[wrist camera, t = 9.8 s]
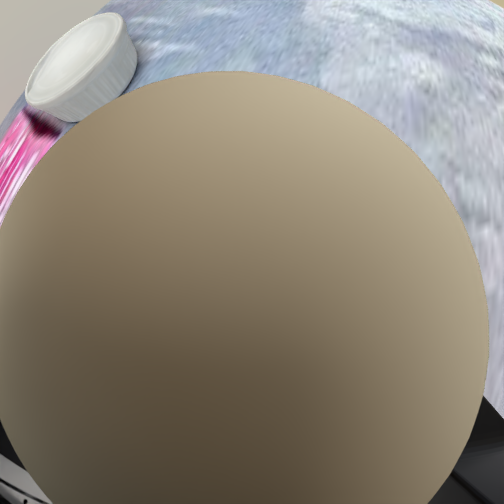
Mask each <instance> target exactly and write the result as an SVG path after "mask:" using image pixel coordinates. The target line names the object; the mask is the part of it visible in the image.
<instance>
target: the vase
mask: <svg viewBox="0 0 504 504" xmlns="http://www.w3.org/2000/svg"><path fill="white" fill-rule="evenodd" d="M488 358H489V322H488V307H487V301H486V295H485V290H484V285H483V280H482V275H481V271H480V266H479V263H478V260H477V257H476V254H475V252H474V249H473V246H472V244H471V241H470V238H469V236H468V233H467V231H466V228H465V226H464V224H463V222H462V220H461V218H460V216H459V214H458V213H457V211H456V209H455V207H454V205H453V204H452V202H451V200H450V199H449V197H448V195H447V194H446V192H445V190H444V189H443V187H442V185H441V184H440V183H439V181H438V180H437V179H436V178H435V176H434V175H433V174H432V173H431V171H430V170H429V169H428V168H427V167H426V165H425V164H424V163H423V162H422V161H421V159H420V158H419V157H418V156H417V155H416V154H415V152H414V151H413V150H412V149H411V148H410V147H408V146H407V145H406V144H405V143H404V142H403V141H402V140H401V139H400V138H398V137H397V136H396V135H395V134H394V133H393V132H392V131H390V130H389V129H388V128H387V127H386V126H385V125H383V124H382V123H381V122H379V121H378V120H376V119H375V118H373V117H372V116H370V115H369V114H367V113H366V112H364V111H363V110H361V109H359V108H358V107H356V106H355V105H353V104H351V103H350V102H348V101H346V100H344V99H342V98H340V97H337V96H335V95H333V94H331V93H328V92H326V91H324V90H322V89H319V88H317V87H315V86H312V85H309V84H305V83H302V82H298V81H295V80H291V79H287V78H284V77H280V76H275V75H268V74H261V73H253V72H244V71H214V72H202V73H195V74H188V75H182V76H176V77H173V78H169V79H165V80H162V81H158V82H155V83H151V84H148V85H145V86H143V87H140V88H138V89H136V90H133V91H131V92H129V93H126V94H124V95H122V96H120V97H118V98H116V99H114V100H112V101H111V102H109V103H107V104H105V105H104V106H102V107H100V108H99V109H97V110H95V111H94V112H92V113H91V114H90V115H88V116H87V117H86V118H84V119H83V120H82V121H80V122H79V123H78V124H76V125H75V126H74V127H72V128H71V129H70V130H69V131H68V132H67V133H66V134H65V135H64V136H63V137H61V138H60V139H59V140H58V141H57V142H56V143H55V144H54V145H53V146H52V147H51V148H50V149H49V150H48V152H47V153H46V154H45V155H44V156H43V158H42V159H41V160H40V161H39V162H38V164H37V165H36V166H35V167H34V168H33V170H32V171H31V173H30V174H29V176H28V177H27V179H26V180H25V182H24V183H23V185H22V186H21V188H20V189H19V191H18V192H17V194H16V196H15V198H14V200H13V202H12V204H11V206H10V208H9V210H8V212H7V214H6V216H5V218H4V220H3V223H2V225H1V228H0V420H1V423H2V425H3V427H4V430H5V432H6V434H7V436H8V438H9V440H10V442H11V444H12V446H13V448H14V450H15V452H16V454H17V455H18V457H19V459H20V460H21V462H22V464H23V465H24V467H25V468H26V470H27V472H28V473H29V475H30V476H31V477H32V479H33V480H34V481H35V483H36V484H37V485H38V487H39V488H40V489H41V490H42V492H43V493H44V494H45V495H46V497H47V498H48V499H49V500H50V501H51V502H52V503H53V504H428V502H429V501H430V500H431V499H432V498H433V496H434V495H435V494H436V492H437V491H438V490H439V488H440V487H441V486H442V484H443V483H444V482H445V480H446V479H447V478H448V476H449V475H450V473H451V471H452V470H453V468H454V466H455V464H456V462H457V461H458V459H459V457H460V455H461V453H462V451H463V449H464V447H465V445H466V443H467V441H468V439H469V437H470V434H471V431H472V429H473V426H474V423H475V420H476V417H477V414H478V411H479V407H480V404H481V401H482V397H483V392H484V386H485V380H486V373H487V366H488Z"/></svg>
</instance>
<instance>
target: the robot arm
mask: <svg viewBox="0 0 504 504" xmlns="http://www.w3.org/2000/svg"><path fill="white" fill-rule="evenodd" d="M0 504H53V503H52V502H51V501H50V500H49V499H48V498H47V497H46V495H45V494H44V493H43V492H42V490H41V489H40V488H39V487H38V485H37V484H36V483H35V481H34V480H33V479H32V477H31V476H30V475H29V473H28V472H27V470H26V468H25V467H24V465H23V464H22V462H21V460H20V459H19V457H18V455H17V454H16V452H15V450H14V448H13V446H12V444H11V442H10V440H9V438H8V436H7V434H6V432H5V430H4V427H3V425H2V423H1V420H0ZM428 504H504V419H503V418H502V417H501V415H500V414H499V413H498V412H497V411H496V410H495V408H494V407H493V406H492V405H491V404H490V403H489V402H488V400H487V399H486V398H485V397H484V396H483V397H482V401H481V404H480V407H479V411H478V414H477V417H476V420H475V423H474V426H473V429H472V431H471V434H470V437H469V439H468V441H467V443H466V445H465V447H464V449H463V451H462V453H461V455H460V457H459V459H458V461H457V462H456V464H455V466H454V468H453V470H452V471H451V473H450V475H449V476H448V478H447V479H446V480H445V482H444V483H443V484H442V486H441V487H440V488H439V490H438V491H437V492H436V494H435V495H434V496H433V498H432V499H431V500H430V501H429V502H428Z"/></svg>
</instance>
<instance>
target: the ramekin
mask: <svg viewBox="0 0 504 504" xmlns="http://www.w3.org/2000/svg"><path fill="white" fill-rule="evenodd" d="M136 66H137V52H136V50H135V47H134V45H133V43H132V40H131V38H130V36H129V34H128V32H127V25H126V22H125V21H124V19H123V18H122V17H121V16H120V15H119V14H117V13H103V14H99V15H96V16H93V17H91V18H89V19H87V20H85V21H83V22H81V23H80V24H78V25H77V26H75V27H73V28H72V29H71V30H69V31H68V32H67V33H66V34H64V35H63V36H62V37H61V38H60V39H59V40H57V41H56V42H55V43H54V44H53V45H52V46H51V47H50V49H49V50H48V51H47V52H46V53H45V54H44V56H43V57H42V58H41V59H40V61H39V62H38V64H37V65H36V67H35V68H34V70H33V72H32V74H31V75H30V78H29V80H28V82H27V86H26V90H25V98H26V101H27V102H28V104H29V105H30V106H32V107H33V108H35V109H38V110H43V111H45V112H46V113H48V114H50V115H52V116H54V117H56V118H58V119H61V120H63V121H66V122H77V121H82V120H83V119H84V118H86V117H87V116H88V115H90V114H91V113H92V112H94V111H95V110H97V109H99V108H100V107H102V106H104V105H105V104H107V103H109V102H111V101H112V100H114V99H116V98H118V97H119V96H120V95H121V94H122V92H123V91H124V90H125V89H126V87H127V86H128V84H129V83H130V81H131V79H132V77H133V75H134V73H135V69H136Z"/></svg>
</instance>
